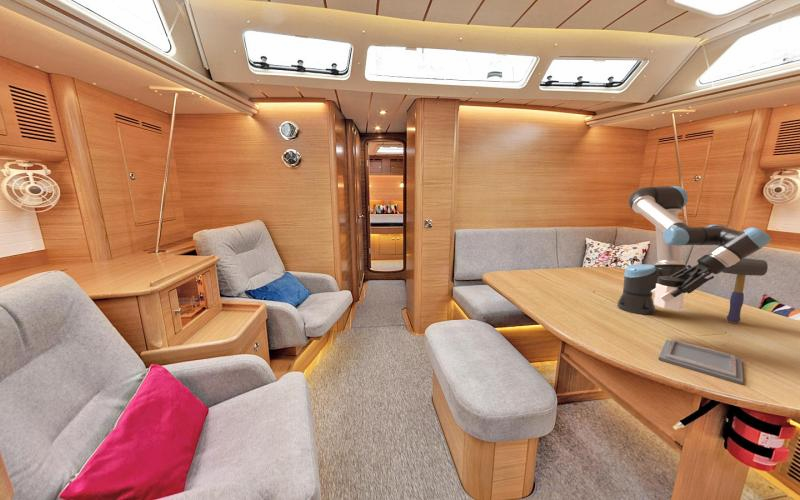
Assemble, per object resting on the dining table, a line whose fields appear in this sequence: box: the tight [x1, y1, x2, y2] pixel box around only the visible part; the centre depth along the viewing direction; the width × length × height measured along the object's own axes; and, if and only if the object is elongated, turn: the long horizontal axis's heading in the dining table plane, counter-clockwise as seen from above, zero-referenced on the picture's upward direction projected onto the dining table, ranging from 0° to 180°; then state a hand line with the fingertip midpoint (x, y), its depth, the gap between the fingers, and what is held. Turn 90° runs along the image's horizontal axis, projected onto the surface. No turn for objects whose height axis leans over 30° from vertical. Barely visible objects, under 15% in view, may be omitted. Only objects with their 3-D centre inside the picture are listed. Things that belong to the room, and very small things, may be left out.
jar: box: [653, 276, 685, 311], centre depth 114 cm, size 9×8×12 cm
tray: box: [665, 339, 736, 377], centre depth 97 cm, size 16×16×1 cm
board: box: [658, 339, 744, 385], centre depth 98 cm, size 19×19×1 cm
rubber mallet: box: [721, 257, 769, 324], centre depth 124 cm, size 12×8×30 cm, turn 56°
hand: (658, 296), depth 116 cm, fingers closed on jar, 8 cm apart
